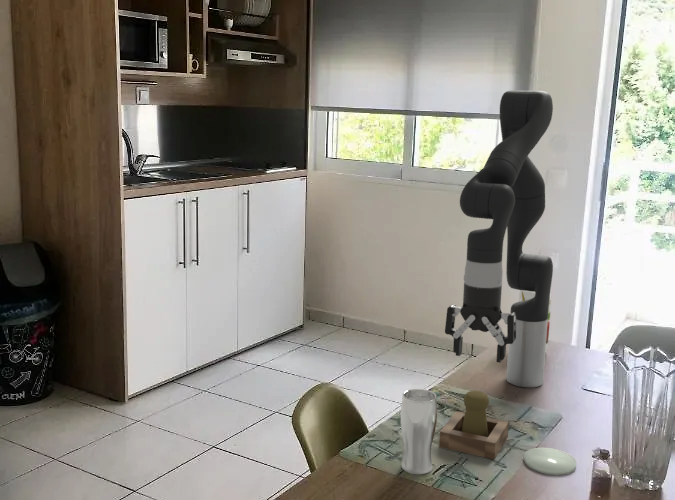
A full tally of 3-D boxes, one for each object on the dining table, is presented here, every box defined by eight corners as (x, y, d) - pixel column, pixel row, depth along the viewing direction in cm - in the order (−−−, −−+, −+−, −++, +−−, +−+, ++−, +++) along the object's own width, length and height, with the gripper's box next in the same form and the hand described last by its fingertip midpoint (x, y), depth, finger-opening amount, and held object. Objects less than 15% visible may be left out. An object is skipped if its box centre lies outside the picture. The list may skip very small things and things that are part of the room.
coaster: (529, 447, 155) (529, 443, 154) (579, 457, 150) (579, 454, 150) (518, 467, 146) (519, 464, 146) (571, 479, 141) (571, 475, 141)
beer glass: (425, 479, 141) (428, 405, 138) (392, 469, 144) (395, 397, 141) (440, 464, 147) (443, 393, 144) (408, 455, 150) (411, 385, 147)
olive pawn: (488, 449, 153) (491, 399, 151) (459, 446, 154) (461, 397, 152) (488, 437, 159) (491, 388, 157) (460, 434, 160) (462, 386, 158)
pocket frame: (455, 425, 164) (456, 411, 163) (507, 436, 159) (508, 421, 159) (439, 447, 154) (439, 431, 153) (494, 459, 149) (495, 443, 148)
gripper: (522, 282, 150) (517, 358, 153) (454, 274, 156) (450, 347, 159) (513, 290, 143) (508, 369, 147) (443, 281, 149) (439, 358, 153)
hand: (478, 358), depth 153 cm, fingers open, 8 cm apart
